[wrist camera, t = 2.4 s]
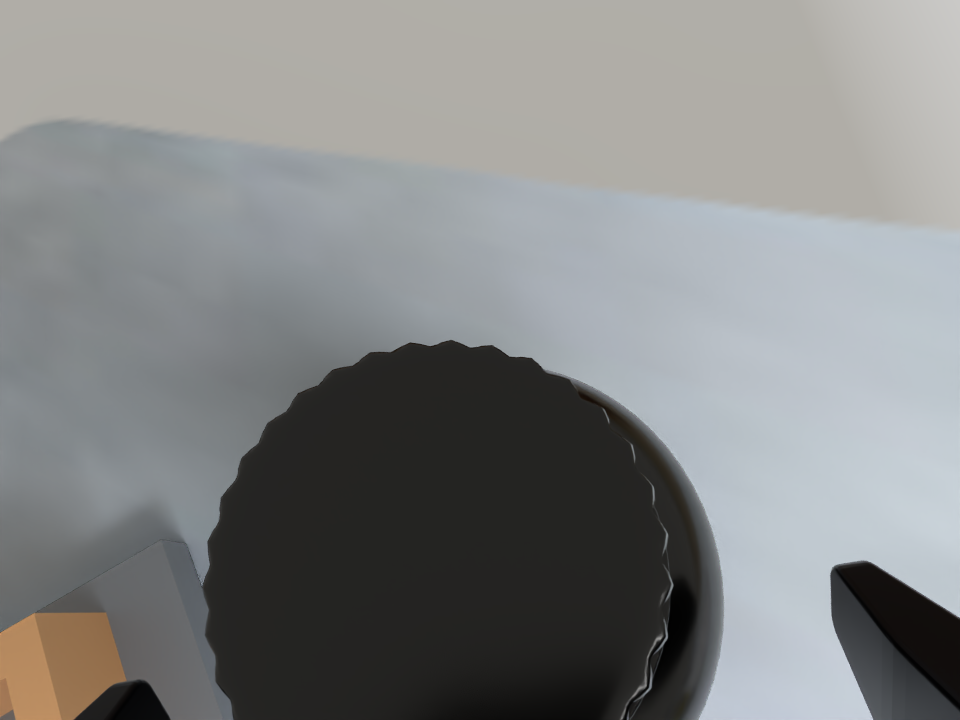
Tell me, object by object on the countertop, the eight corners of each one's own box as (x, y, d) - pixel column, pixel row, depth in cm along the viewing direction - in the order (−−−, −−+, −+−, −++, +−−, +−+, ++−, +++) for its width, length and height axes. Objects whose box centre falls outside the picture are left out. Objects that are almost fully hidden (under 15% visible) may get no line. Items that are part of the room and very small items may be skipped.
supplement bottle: (694, 742, 16) (875, 1028, 5) (408, 750, 17) (46, 1004, 6) (654, 450, 19) (722, 218, 8) (404, 472, 20) (135, 294, 9)
